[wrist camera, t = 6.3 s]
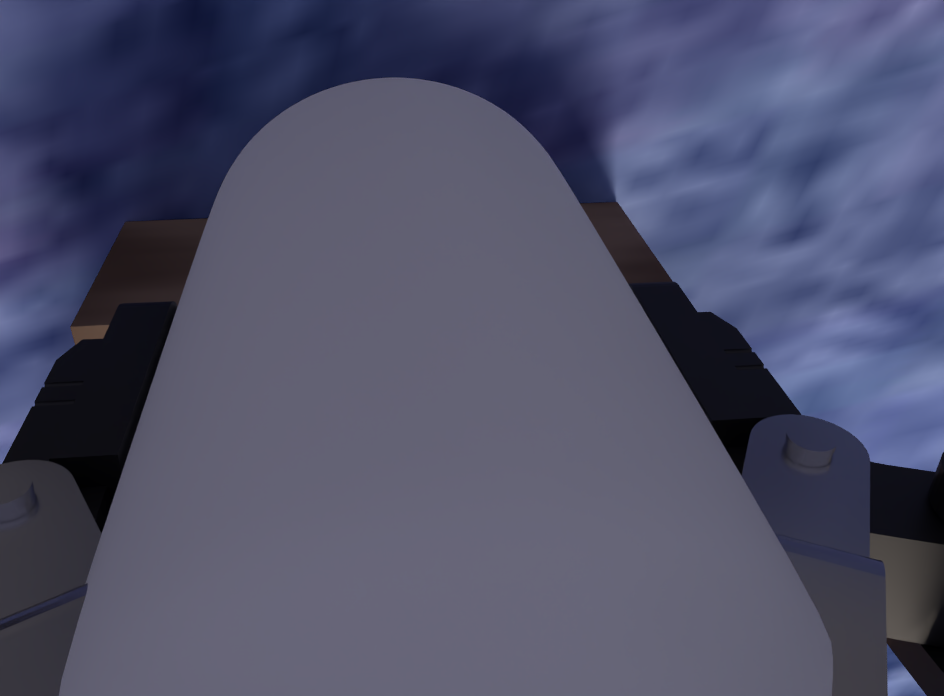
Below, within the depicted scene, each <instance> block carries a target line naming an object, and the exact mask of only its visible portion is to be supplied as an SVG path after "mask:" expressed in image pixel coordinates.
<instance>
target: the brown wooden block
mask: <svg viewBox="0 0 944 696" xmlns="http://www.w3.org/2000/svg"><path fill="white" fill-rule="evenodd" d="M580 205H581V206H582V208H583V210H584V211H585V213H586V215H587V216H588V218H589V220H590V221H591V223H592V224H593V226H594V228H595V229H596V231H597V233H598V234H599V236H600V238H601V239H602V241H603V243H604V244H605V246H606V248H607V249H608V251H609V253H610V254H611V256H612V258H613V259H614V261H615V263H616V265H617V266H618V268H619V270H620V271H621V273H622V275H623V276H624V278H625V280H626V281H627V283H652V282H673V281H672V280H671V278H670V277H669V275H668V274H667V273H666V271H665V270H664V268H663V267H662V265H661V264H660V263H659V261H658V260H657V258H656V257H655V255H654V254H653V253H652V251H651V250H650V248H649V247H648V245H647V244H646V243H645V241H644V240H643V238H642V237H641V235H640V234H639V233H638V231H637V230H636V228H635V227H634V225H633V224H632V223H631V221H630V220H629V218H628V217H627V215H626V214H625V213H624V211H623V210H622V208H621V207H620V205H619V204H618V203H617V202H606V203H581V204H580ZM207 220H208V218H206V219H182V220H157V221H132V222H125V223H124V225H123V227H122V229H121V231H120V233H119V235H118V237H117V239H116V241H115V242H114V244H113V246H112V248H111V250H110V252H109V254H108V256H107V258H106V260H105V262H104V264H103V265H102V267H101V269H100V271H99V273H98V275H97V277H96V279H95V281H94V283H93V285H92V287H91V288H90V290H89V292H88V294H87V296H86V298H85V300H84V302H83V304H82V306H81V308H80V310H79V311H78V313H77V315H76V317H75V319H74V321H73V323H72V325H71V331H72V335H73V339H74V342H75V345H76V344H77V343H79V342H80V341H81V340H82V339H103V338H104V336H105V333H106V331H107V329H108V327H109V325H110V322H111V320H112V318H113V316H114V314H115V311H116V309H117V307H118V306H119V305H120V304H122V303H144V302H168V301H174V302H176V304H177V306H178V304H179V301H180V298H181V295H182V292H183V289H184V286H185V283H186V280H187V277H188V275H189V272H190V269H191V266H192V263H193V260H194V257H195V254H196V251H197V248H198V246H199V243H200V240H201V237H202V234H203V231H204V228H205V226H206V223H207Z"/></svg>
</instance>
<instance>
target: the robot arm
mask: <svg viewBox="0 0 944 696" xmlns="http://www.w3.org/2000/svg"><path fill="white" fill-rule="evenodd" d="M628 285H629V286H630V288H631V290H632V291H633V293H634V295H635V296H636V298H637V300H638V301H639V303H640V305H641V306H642V308H643V310H644V312H645V313H646V315H647V317H648V318H649V320H650V322H651V323H652V325H653V327H654V328H655V330H656V332H657V333H658V335H659V337H660V339H661V340H662V342H663V344H664V345H665V347H666V349H667V350H668V352H669V354H670V355H671V357H672V359H673V360H674V362H675V364H676V366H677V367H678V369H679V371H680V372H681V374H682V376H683V377H684V379H685V381H686V382H687V384H688V386H689V388H690V389H691V391H692V393H693V394H694V396H695V398H696V399H697V401H698V403H699V405H700V406H701V408H702V410H703V411H704V413H705V415H706V416H707V418H708V420H709V422H710V423H711V425H712V427H713V428H714V430H715V432H716V434H717V435H718V437H719V439H720V440H721V442H722V444H723V445H724V447H725V449H726V451H727V452H728V454H729V456H730V457H731V459H732V461H733V462H734V464H735V466H736V468H737V469H738V471H739V473H740V474H741V476H742V478H743V480H744V481H745V483H746V485H747V486H748V488H749V490H750V492H751V493H752V495H753V497H754V499H755V500H756V502H757V504H758V506H759V507H760V509H761V511H762V512H763V514H764V516H765V518H766V519H767V521H768V523H769V525H770V526H771V528H772V530H773V532H774V533H775V535H776V537H777V538H778V540H779V542H780V544H781V545H782V547H783V549H784V551H785V552H786V554H787V556H788V558H789V559H790V561H791V563H792V565H793V567H794V568H795V570H796V572H797V574H798V576H799V578H800V580H801V581H802V583H803V585H804V587H805V589H806V591H807V592H808V594H809V596H810V598H811V600H812V602H813V603H814V605H815V607H816V609H817V611H818V613H819V615H820V617H821V620H822V622H823V624H824V627H825V629H826V631H827V634H828V636H829V638H830V641H831V646H832V654H833V683H832V696H888V693H887V644H888V645H889V647H890V648H891V650H892V651H893V652H894V653H895V655H896V656H897V657H898V659H899V660H900V661H901V663H902V664H903V665H904V666H905V668H906V669H907V670H908V672H909V673H910V674H911V676H912V677H913V678H914V680H915V681H916V682H917V683H918V685H919V686H920V687H921V689H922V690H923V691H924V693H925V694H926V695H927V696H944V452H943V454H942V457H941V459H940V462H939V465H938V467H937V470H936V472H931V471H924V470H918V469H911V468H904V467H897V466H891V465H884V464H879V463H874V462H870V458H869V454H868V452H867V450H866V448H865V447H864V446H863V444H862V443H861V442H860V441H859V440H858V439H857V438H856V437H855V436H853V435H852V434H851V433H849V432H848V431H846V430H845V429H843V428H841V427H839V426H837V425H835V424H833V423H830V422H828V421H825V420H822V419H818V418H815V417H810V416H804V415H801V413H800V412H799V411H798V410H797V408H796V407H795V406H794V404H793V403H792V402H791V400H790V399H789V398H788V396H787V395H786V394H785V392H784V391H783V390H782V388H781V387H780V386H779V384H778V383H777V382H776V380H775V379H774V378H773V376H772V375H771V374H770V372H769V371H768V370H767V369H764V364H763V363H762V362H761V360H760V359H759V358H758V356H757V355H756V354H755V352H752V351H751V349H752V348H751V347H750V346H749V344H748V343H747V342H746V340H745V339H744V338H743V336H742V335H741V334H740V332H739V331H738V330H737V328H735V327H734V326H732V325H730V324H729V323H727V322H726V321H724V320H722V319H721V318H719V317H718V316H716V315H715V314H713V313H711V312H697V311H696V309H695V308H694V307H693V305H692V304H691V302H690V301H689V299H688V298H687V297H686V295H685V294H684V292H683V291H682V289H681V288H680V287H679V285H678V284H677V283H676V282H652V283H628ZM177 307H178V306H177V304H176V302H174V301H168V302H144V303H122V304H120V305H119V306H118V307H117V309H116V311H115V314H114V316H113V318H112V320H111V322H110V325H109V327H108V329H107V331H106V333H105V336H104V338H103V339H82V340H81V341H80V342H79V343H77V344H76V345H75V346H73V347H72V348H71V349H70V350H68V351H67V352H66V353H65V354H63V355H62V356H61V357H60V358H58V359H57V360H56V362H55V364H54V366H53V367H52V369H51V371H50V373H49V375H48V377H47V379H46V381H45V387H42V388H41V390H40V392H39V394H38V396H37V398H36V400H35V406H34V407H32V408H31V410H30V411H29V413H28V415H27V417H26V419H25V421H24V423H23V425H22V427H21V429H20V431H19V432H18V434H17V436H16V438H15V440H14V442H13V444H12V446H11V448H10V450H9V452H8V454H7V455H6V457H5V459H4V461H3V463H2V464H0V696H59V691H60V685H61V680H62V676H63V673H64V669H65V665H66V662H67V658H68V655H69V651H70V648H71V644H72V641H73V637H74V634H75V630H76V627H77V623H78V619H79V616H80V613H81V610H82V607H83V603H84V600H85V597H86V593H87V588H88V583H87V584H86V580H87V577H88V574H89V571H90V568H91V565H92V562H93V559H94V556H95V553H96V550H97V547H98V544H99V541H100V537H101V534H102V531H103V528H104V525H105V522H106V519H107V516H108V513H109V510H110V507H111V504H112V501H113V498H114V495H115V492H116V489H117V486H118V483H119V480H120V477H121V474H122V471H123V468H124V465H125V462H126V459H127V456H128V453H129V450H130V447H131V444H132V441H133V438H134V435H135V432H136V429H137V426H138V423H139V420H140V417H141V414H142V411H143V408H144V405H145V402H146V399H147V396H148V393H149V390H150V387H151V384H152V381H153V378H154V375H155V372H156V369H157V366H158V363H159V360H160V357H161V354H162V351H163V348H164V345H165V342H166V339H167V336H168V333H169V331H170V328H171V325H172V322H173V319H174V316H175V313H176V310H177Z"/></svg>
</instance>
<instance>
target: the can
mask: <svg viewBox="0 0 944 696" xmlns="http://www.w3.org/2000/svg"><path fill="white" fill-rule="evenodd" d="M87 583H88V588H87V593H86V597H85V600H84V603H83V607H82V610H81V613H80V616H79V619H78V623H77V627H76V630H75V634H74V637H73V641H72V644H71V648H70V651H69V655H68V658H67V662H66V665H65V669H64V673H63V676H62V680H61V685H60V691H59V696H832V683H833V654H832V646H831V641H830V638H829V636H828V634H827V631H826V629H825V627H824V624H823V622H822V620H821V617H820V615H819V613H818V611H817V609H816V607H815V605H814V603H813V602H812V600H811V598H810V596H809V594H808V592H807V591H806V589H805V587H804V585H803V583H802V581H801V580H800V578H799V576H798V574H797V572H796V570H795V568H794V567H793V565H792V563H791V561H790V559H789V558H788V556H787V554H786V552H785V551H784V549H783V547H782V545H781V544H780V542H779V540H778V538H777V537H776V535H775V533H774V532H773V530H772V528H771V526H770V525H769V523H768V521H767V519H766V518H765V516H764V514H763V512H762V511H761V509H760V507H759V506H758V504H757V502H756V500H755V499H754V497H753V495H752V493H751V492H750V490H749V488H748V486H747V485H746V483H745V481H744V480H743V478H742V476H741V474H740V473H739V471H738V469H737V468H736V466H735V464H734V462H733V461H732V459H731V457H730V456H729V454H728V452H727V451H726V449H725V447H724V445H723V444H722V442H721V440H720V439H719V437H718V435H717V434H716V432H715V430H714V428H713V427H712V425H711V423H710V422H709V420H708V418H707V416H706V415H705V413H704V411H703V410H702V408H701V406H700V405H699V403H698V401H697V399H696V398H695V396H694V394H693V393H692V391H691V389H690V388H689V386H688V384H687V382H686V381H685V379H684V377H683V376H682V374H681V372H680V371H679V369H678V367H677V366H676V364H675V362H674V360H673V359H672V357H671V355H670V354H669V352H668V350H667V349H666V347H665V345H664V344H663V342H662V340H661V339H660V337H659V335H658V333H657V332H656V330H655V328H654V327H653V325H652V323H651V322H650V320H649V318H648V317H647V315H646V313H645V312H644V310H643V308H642V306H641V305H640V303H639V301H638V300H637V298H636V296H635V295H634V293H633V291H632V290H631V288H630V286H629V285H628V283H627V281H626V280H625V278H624V276H623V275H622V273H621V271H620V270H619V268H618V266H617V265H616V263H615V261H614V259H613V258H612V256H611V254H610V253H609V251H608V249H607V248H606V246H605V244H604V243H603V241H602V239H601V238H600V236H599V234H598V233H597V231H596V229H595V228H594V226H593V224H592V223H591V221H590V220H589V218H588V216H587V215H586V213H585V211H584V210H583V208H582V206H581V205H580V203H579V201H578V200H577V198H576V196H575V195H574V193H573V191H572V190H571V188H570V187H569V185H568V183H567V182H566V180H565V179H564V177H563V175H562V174H561V172H560V171H559V169H558V168H557V166H556V165H555V163H554V162H553V160H552V159H551V157H550V156H549V154H548V153H547V152H546V150H545V149H544V148H543V147H542V145H541V144H540V143H539V142H538V141H537V140H536V139H535V138H534V136H533V135H532V134H531V133H530V132H529V131H528V130H527V129H526V128H525V127H524V126H522V125H521V124H520V123H519V122H518V121H517V120H516V119H514V118H513V117H512V116H510V115H509V114H508V113H506V112H505V111H503V110H502V109H500V108H499V107H497V106H496V105H494V104H492V103H491V102H489V101H487V100H485V99H483V98H481V97H479V96H477V95H475V94H472V93H470V92H468V91H465V90H462V89H460V88H457V87H453V86H450V85H447V84H443V83H439V82H434V81H429V80H422V79H413V78H376V79H367V80H360V81H355V82H350V83H346V84H342V85H339V86H335V87H332V88H329V89H326V90H324V91H321V92H319V93H316V94H314V95H311V96H309V97H307V98H305V99H303V100H301V101H300V102H298V103H296V104H294V105H293V106H291V107H289V108H288V109H286V110H285V111H283V112H282V113H280V114H279V115H278V116H276V117H275V118H274V119H272V120H271V121H270V122H269V123H268V124H266V125H265V126H264V127H263V128H262V129H261V130H260V131H259V132H258V133H257V134H256V135H255V136H254V137H253V138H252V139H251V140H250V141H249V142H248V144H247V145H246V146H245V147H244V149H243V150H242V151H241V153H240V154H239V155H238V157H237V158H236V160H235V161H234V163H233V164H232V166H231V168H230V169H229V171H228V173H227V175H226V177H225V178H224V180H223V182H222V185H221V187H220V189H219V191H218V194H217V196H216V199H215V201H214V204H213V206H212V209H211V212H210V215H209V217H208V220H207V223H206V226H205V228H204V231H203V234H202V237H201V240H200V243H199V246H198V248H197V251H196V254H195V257H194V260H193V263H192V266H191V269H190V272H189V275H188V277H187V280H186V283H185V286H184V289H183V292H182V295H181V298H180V301H179V304H178V307H177V310H176V313H175V316H174V319H173V322H172V325H171V328H170V331H169V333H168V336H167V339H166V342H165V345H164V348H163V351H162V354H161V357H160V360H159V363H158V366H157V369H156V372H155V375H154V378H153V381H152V384H151V387H150V390H149V393H148V396H147V399H146V402H145V405H144V408H143V411H142V414H141V417H140V420H139V423H138V426H137V429H136V432H135V435H134V438H133V441H132V444H131V447H130V450H129V453H128V456H127V459H126V462H125V465H124V468H123V471H122V474H121V477H120V480H119V483H118V486H117V489H116V492H115V495H114V498H113V501H112V504H111V507H110V510H109V513H108V516H107V519H106V522H105V525H104V528H103V531H102V534H101V537H100V541H99V544H98V547H97V550H96V553H95V556H94V559H93V562H92V565H91V568H90V571H89V574H88V577H87V580H86V584H87Z"/></svg>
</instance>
